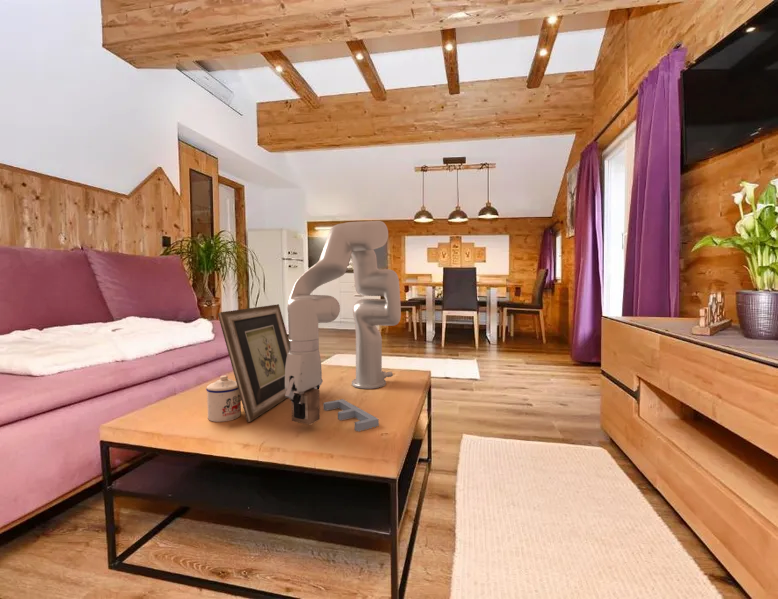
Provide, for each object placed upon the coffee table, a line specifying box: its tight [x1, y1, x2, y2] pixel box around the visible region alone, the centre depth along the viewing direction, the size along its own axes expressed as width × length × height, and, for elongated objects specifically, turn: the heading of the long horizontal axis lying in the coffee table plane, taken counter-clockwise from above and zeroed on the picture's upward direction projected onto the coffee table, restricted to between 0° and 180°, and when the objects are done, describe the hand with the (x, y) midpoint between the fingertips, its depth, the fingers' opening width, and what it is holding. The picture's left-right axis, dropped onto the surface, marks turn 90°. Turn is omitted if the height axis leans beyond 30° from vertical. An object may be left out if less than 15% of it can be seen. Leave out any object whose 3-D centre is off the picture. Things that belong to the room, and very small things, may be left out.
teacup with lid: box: [205, 375, 242, 423], centre depth 111 cm, size 12×9×12 cm
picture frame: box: [217, 304, 289, 423], centre depth 122 cm, size 33×10×30 cm, turn 168°
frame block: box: [290, 388, 321, 425], centre depth 101 cm, size 4×6×8 cm
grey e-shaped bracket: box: [323, 398, 380, 432], centre depth 110 cm, size 6×20×2 cm, turn 34°
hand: (305, 414), depth 102 cm, fingers closed on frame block, 4 cm apart
